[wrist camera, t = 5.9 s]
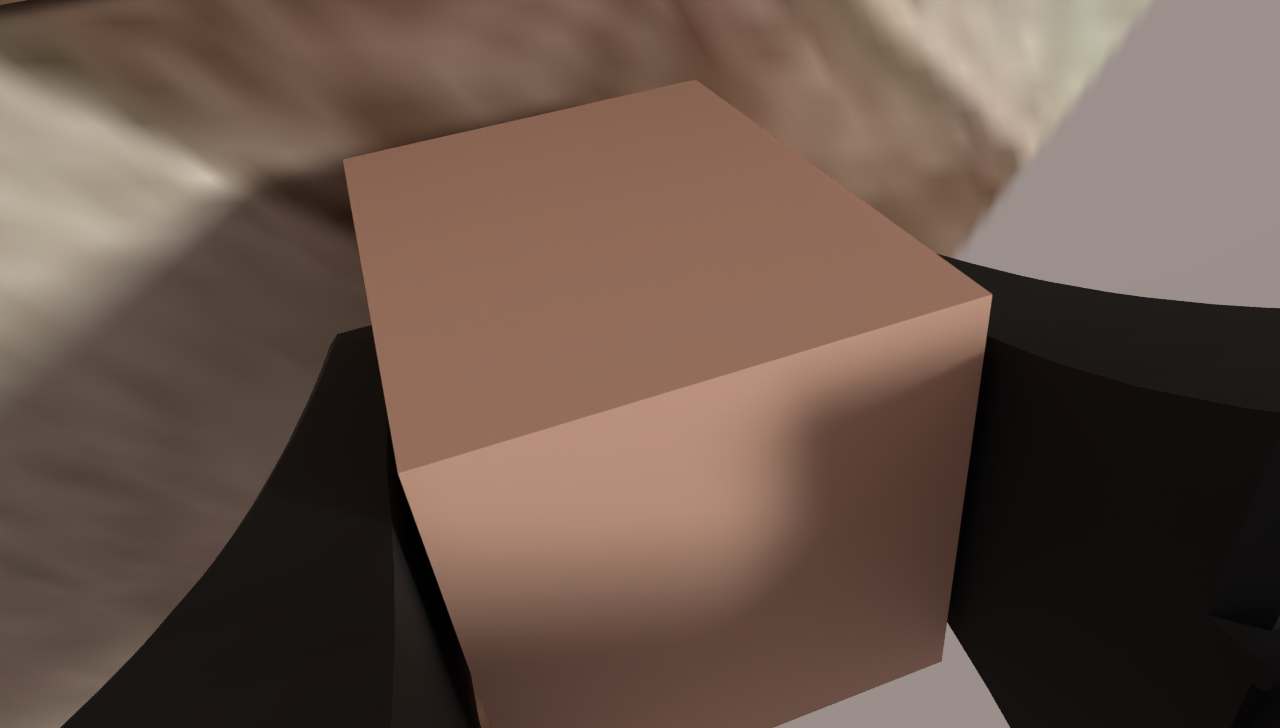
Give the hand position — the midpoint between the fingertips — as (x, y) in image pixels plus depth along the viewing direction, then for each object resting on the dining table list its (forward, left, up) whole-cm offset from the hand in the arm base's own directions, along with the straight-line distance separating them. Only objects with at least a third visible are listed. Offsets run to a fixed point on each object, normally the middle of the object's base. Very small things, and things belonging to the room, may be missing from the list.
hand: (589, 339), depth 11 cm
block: (0, 0, -2) cm, 2 cm away
